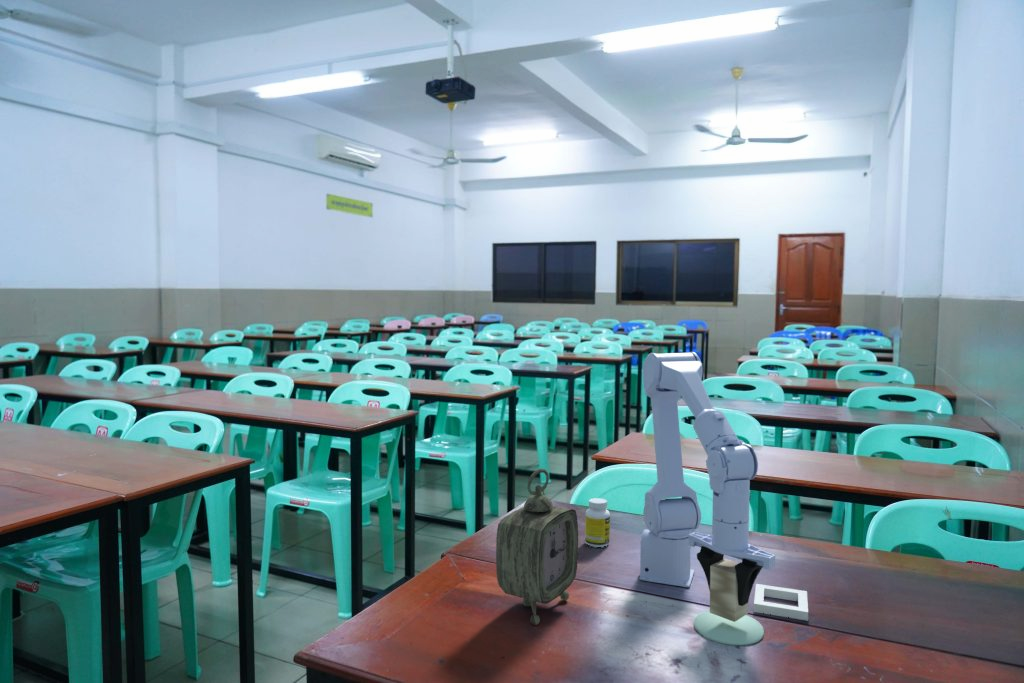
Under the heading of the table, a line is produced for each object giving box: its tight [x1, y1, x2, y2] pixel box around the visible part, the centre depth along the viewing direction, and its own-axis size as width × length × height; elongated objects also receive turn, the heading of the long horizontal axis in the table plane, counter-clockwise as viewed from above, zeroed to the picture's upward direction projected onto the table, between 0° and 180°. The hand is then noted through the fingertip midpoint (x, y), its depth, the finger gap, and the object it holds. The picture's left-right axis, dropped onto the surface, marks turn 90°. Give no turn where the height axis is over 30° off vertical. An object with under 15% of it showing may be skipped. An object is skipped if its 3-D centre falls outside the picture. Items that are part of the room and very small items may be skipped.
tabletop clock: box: [495, 468, 579, 626], centre depth 119 cm, size 14×9×25 cm, turn 148°
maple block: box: [709, 557, 750, 622], centre depth 112 cm, size 4×4×8 cm
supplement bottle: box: [584, 497, 611, 548], centre depth 151 cm, size 5×5×10 cm
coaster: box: [693, 610, 765, 646], centre depth 113 cm, size 11×11×1 cm
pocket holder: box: [753, 583, 809, 622], centre depth 121 cm, size 9×9×2 cm
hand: (729, 598), depth 112 cm, fingers closed on maple block, 4 cm apart
